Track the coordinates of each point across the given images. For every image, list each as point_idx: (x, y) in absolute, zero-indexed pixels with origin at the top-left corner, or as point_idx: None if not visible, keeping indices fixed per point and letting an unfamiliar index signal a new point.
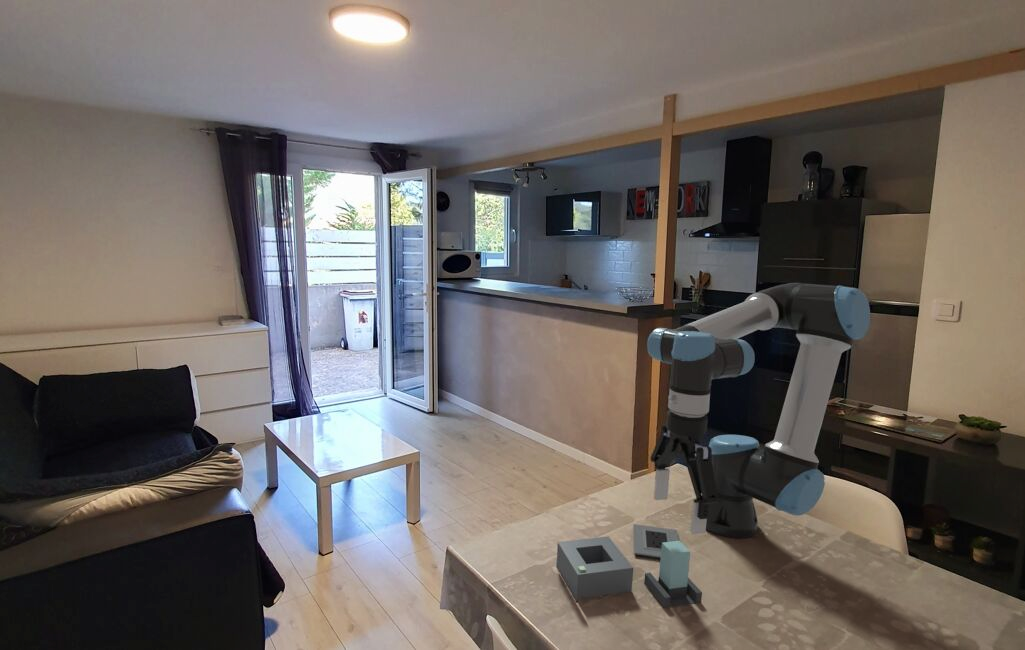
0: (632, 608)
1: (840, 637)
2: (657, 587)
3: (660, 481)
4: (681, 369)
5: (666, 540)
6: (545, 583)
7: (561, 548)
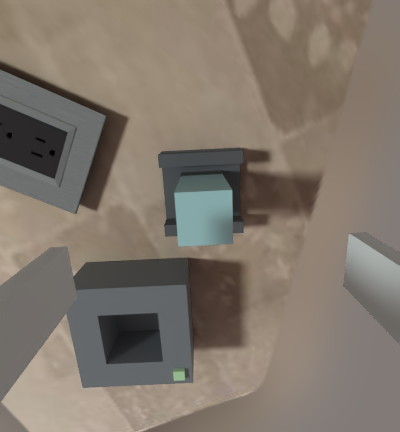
0: (221, 268)
1: None
2: None
3: (22, 348)
4: None
5: (24, 116)
6: None
7: (105, 385)
